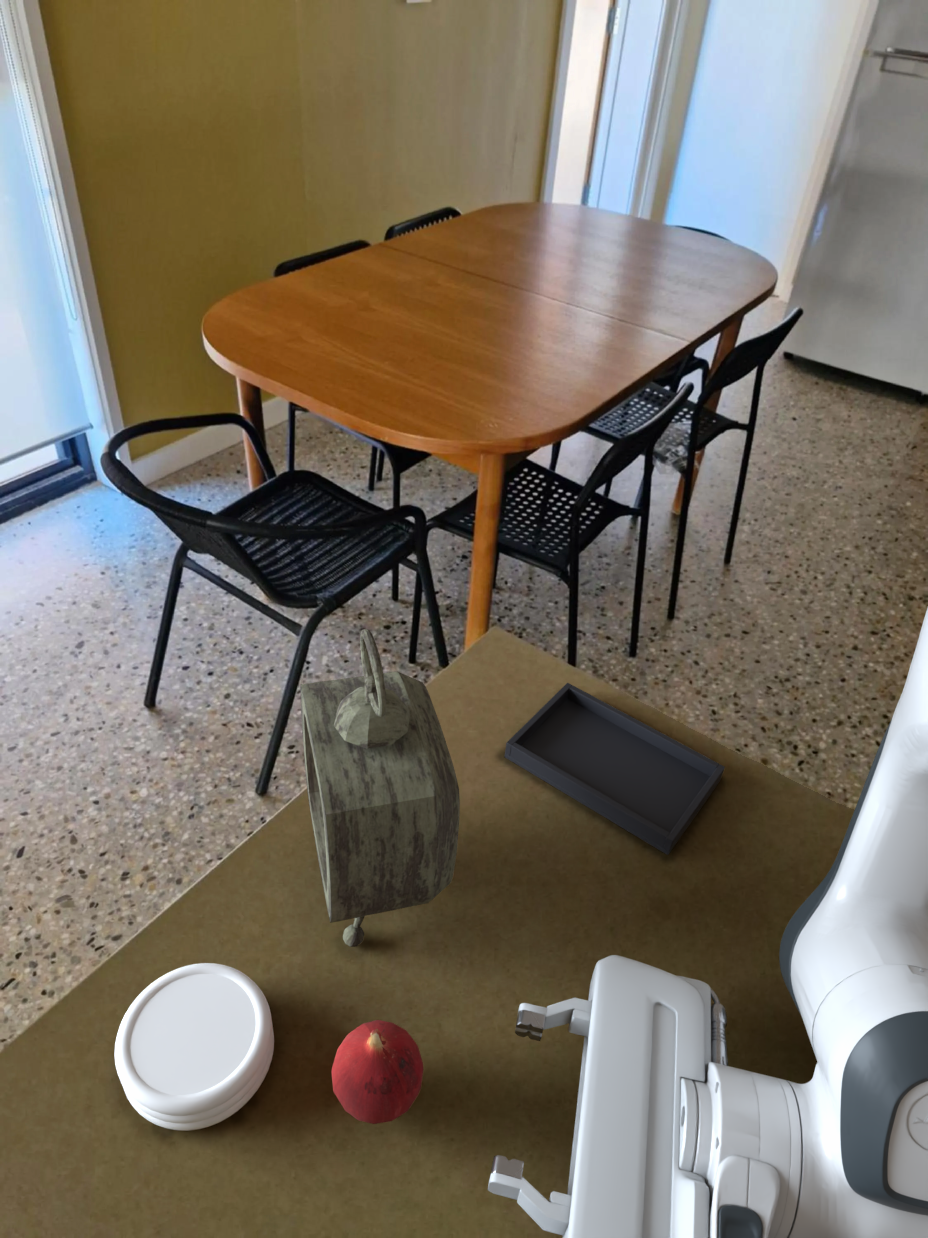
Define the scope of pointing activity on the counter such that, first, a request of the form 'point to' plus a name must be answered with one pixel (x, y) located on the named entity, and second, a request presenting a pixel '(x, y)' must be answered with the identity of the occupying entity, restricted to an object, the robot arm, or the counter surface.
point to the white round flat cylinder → (194, 1046)
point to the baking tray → (616, 766)
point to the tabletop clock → (378, 792)
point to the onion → (377, 1072)
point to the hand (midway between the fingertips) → (504, 1090)
